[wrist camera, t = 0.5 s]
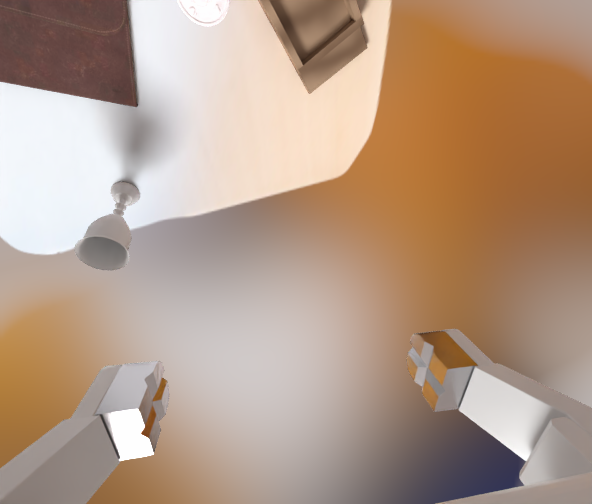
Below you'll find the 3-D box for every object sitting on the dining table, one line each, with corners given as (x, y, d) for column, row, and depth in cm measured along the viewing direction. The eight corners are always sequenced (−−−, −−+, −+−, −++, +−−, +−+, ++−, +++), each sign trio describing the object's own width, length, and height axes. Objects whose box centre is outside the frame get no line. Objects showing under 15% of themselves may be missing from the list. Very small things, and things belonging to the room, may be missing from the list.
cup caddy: (234, -43, 37) (237, -45, 35) (308, -117, 34) (315, -124, 32) (308, 92, 51) (312, 97, 49) (365, 46, 48) (372, 49, 46)
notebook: (138, 105, 46) (136, 109, 45) (-20, 75, 39) (-28, 78, 38) (126, -15, 37) (123, -16, 35) (-84, -83, 30) (-98, -86, 28)
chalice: (95, 189, 53) (62, 252, 40) (121, 170, 52) (95, 228, 39) (129, 214, 58) (109, 276, 45) (153, 196, 57) (140, 256, 44)
